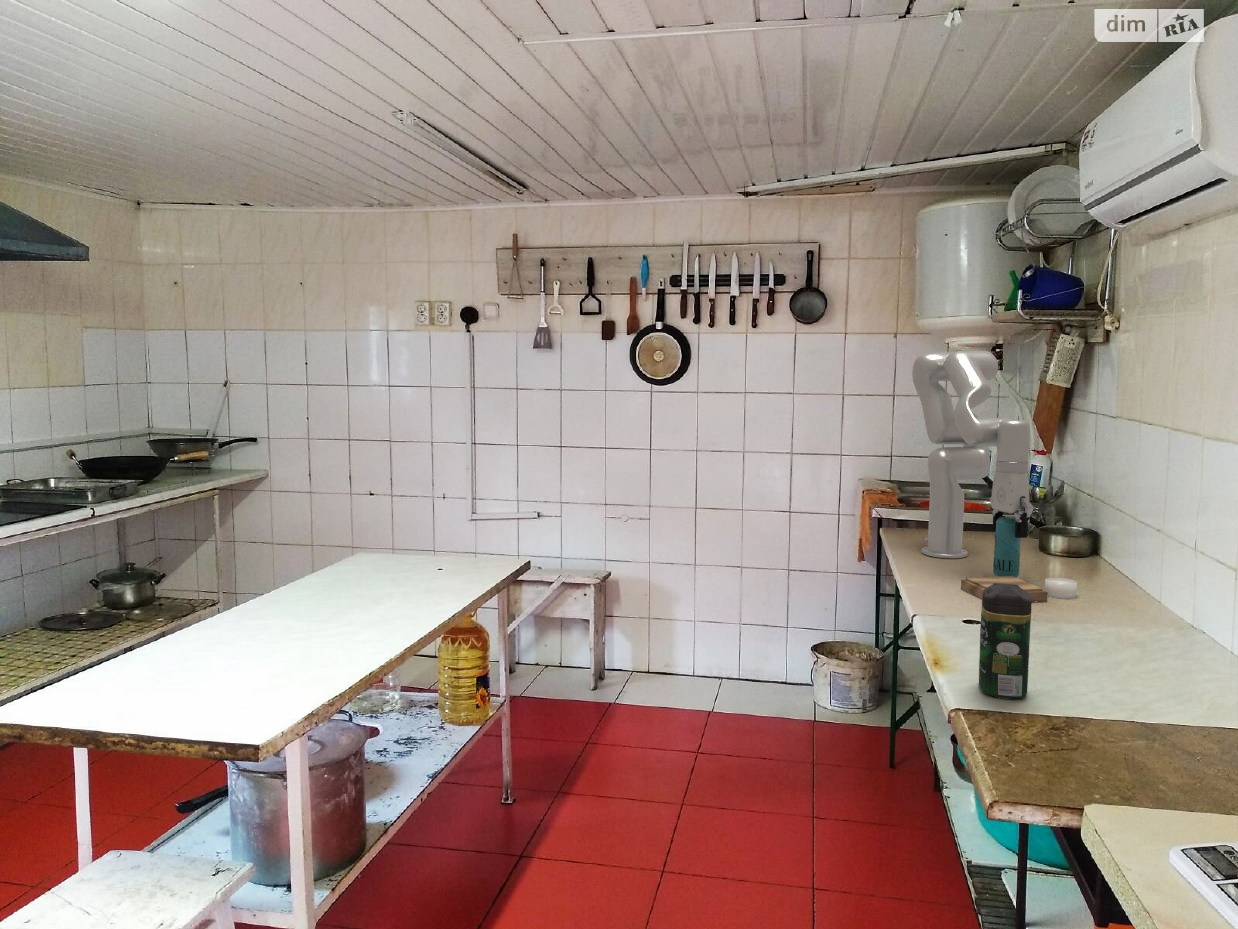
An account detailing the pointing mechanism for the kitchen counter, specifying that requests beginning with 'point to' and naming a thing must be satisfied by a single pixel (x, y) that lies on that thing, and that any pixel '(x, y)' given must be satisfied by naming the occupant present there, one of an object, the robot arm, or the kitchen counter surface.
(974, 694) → the kitchen counter surface
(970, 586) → the riser
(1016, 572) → the beverage bottle
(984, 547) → the kitchen counter surface
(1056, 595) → the white soap bar
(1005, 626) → the coffee jar
